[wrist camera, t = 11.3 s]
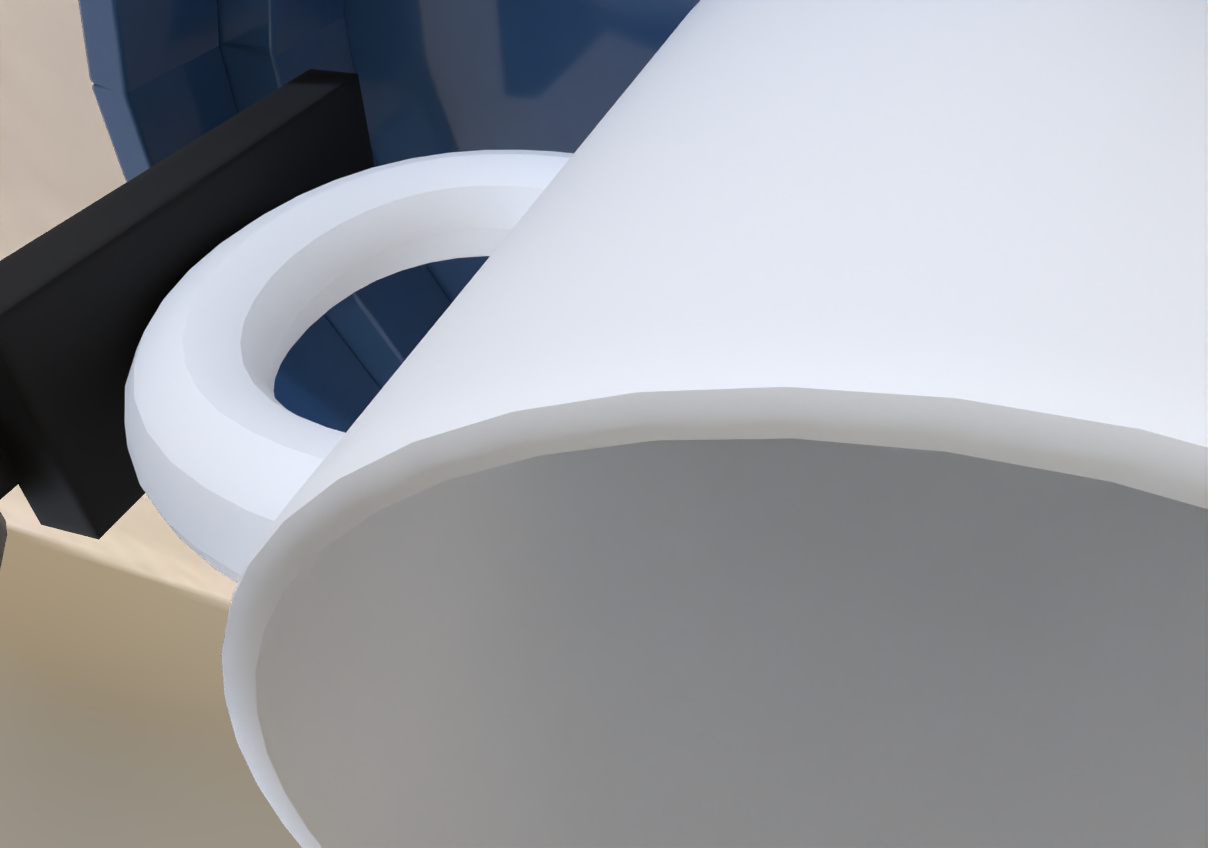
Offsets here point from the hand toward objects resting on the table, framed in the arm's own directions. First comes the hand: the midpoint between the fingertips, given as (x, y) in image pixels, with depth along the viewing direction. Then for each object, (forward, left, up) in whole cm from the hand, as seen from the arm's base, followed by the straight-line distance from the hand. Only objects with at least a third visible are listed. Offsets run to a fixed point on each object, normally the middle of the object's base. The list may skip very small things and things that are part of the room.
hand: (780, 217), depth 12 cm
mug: (0, 0, -2) cm, 2 cm away
